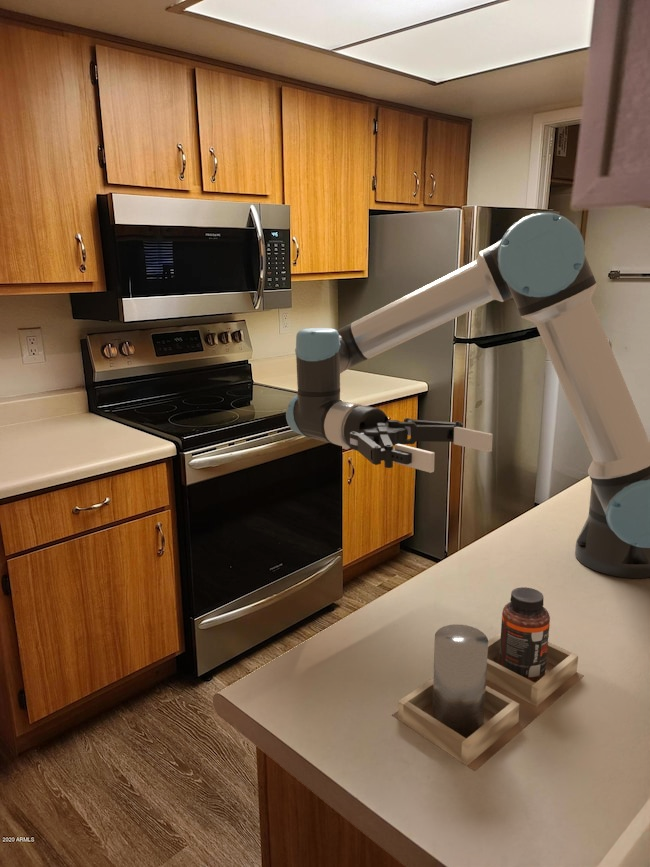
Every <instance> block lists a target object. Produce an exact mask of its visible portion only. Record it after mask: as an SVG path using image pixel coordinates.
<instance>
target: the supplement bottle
mask: <svg viewBox="0 0 650 867" xmlns="http://www.w3.org/2000/svg"><path fill="white" fill-rule="evenodd" d="M509 599H510V602H508V603H506V604H505V605H504V606H503V608H502V613H501V615H502V616H501V624H500V625H501V626H500V633H501V640H500V641H501V642H500V657H499V665H501V666H503V667H505V668H507V669H509V670H511V671H513V672H515V673H517V674H519V675H521V676H523V677H525V678H526V679H528V680H530V681H532V682H536V681H538V680H540V679H541V678H542V677H543V676H544V675H545V670H546V662H547V649H548V642H549V637H550V634H549V633H550V624H551V623H550V621H551V616H550V612H549V611H548V610H547V608H545V607H544V594H543V593H542V592H541V591H539V590H537V589H535V588H531V587H527V586H526V587H523V586H522V587H516V588H514V589H512V591H511V594H510V598H509Z"/></svg>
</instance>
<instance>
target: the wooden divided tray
mask: <svg viewBox="0 0 650 867" xmlns="http://www.w3.org/2000/svg"><path fill="white" fill-rule="evenodd" d="M500 640H501V632H499V633H498V634H496V635H495V636H493V637H491V638H490V639H488V656H487V674H486V693H485V711H484V725H483V726H482V727H480V728H479V729H478V730H477V731H475V732H474V733H473V734H472V735H470V736H469V737H468V738H465V737H463V736H461V735H460V734H458V733H457V732H455V731H454V730H452V729H450V728H449V727H447V726H446V725H444V724H443V723H441V722H439V721H438V720H436V719H435V718H433V717H432V710H433V677H432V678H431V679H429V680H427V681H426V682H425V683H423V684H422V685H420V686H419V687H417V688H416V689H414V690H413V691H412V692H410V693H408V694H406V695H405V696H404V697H402V698H401V699H400V700H398V702H397V703H398V704H397V705H398V707H397V711H395V712H394V713H392V715H391V716H392V717H394V718H395V719H396V720H399V721H400V722H401V723H403V724H404V725H406V726H407V727H409V728H410V729H412V730H413V731H415V733H417V734H419V735H420V736H422V737H423V738H425V739H426V740H428V741H429V742H430V743H432V744H434V745H436V747H437V748H440V749H441V750H442V751H444V752H445V753H447V754H448V755H450V756H452V758H455V759H456V760H458V761H459V763H462V764H464V765H465V766H466V767H468V768H469V769H470V770H472V771H473V772H476V771H477V770H478V769H480V767H482V766H483V765H484V764H486V762H488V760H489V759H491V758H492V757H493V756H494V755H495V754H496V753H498V752H499V751H500V750H501V749H502V748H503V747H505V746H506V745H507V744H508V743H510V741H511V740H512V739H514V738H515V737H516V736H517V735H518V734H519V733H521V732H522V731H523V730H524V729H525V728H526V727H527V726H529V725H530V724H531V723H533V721H534V720H535V719H537V718H538V717H539V716H540V715H541V714H543V712H544V711H546V710H547V709H548V708H549V707H550V706H551V705H553V703H555V702H556V701H557V700H558V699H559V698H561V696H563V695H564V694H565V693H566V692H567V691H569V690H570V689H571V688H572V687H573V686H574V685H575V684H577V683H578V682H579V681H580V680H581V679H582V678H583V677H584V676H585V675H584V674H581V673H580V672H577V671H578V664H579V663H578V662H579V655H578V654H576V653H574V652H571V651H569V650H567V649H566V648H564V647H560V646H558V645H556V644H554V643H551V642H550V641H548V649H547V662H546V670H545V675H544V676H543V677H542V678H541V679H540V680H538V681H536V682H532V681H530V680H528V679H526V678H525V677H523V676H521V675H519V674H517V673H515V672H513V671H511V670H509V669H507V668H505V667H503V666H501V665H499V657H500V642H501V641H500Z"/></svg>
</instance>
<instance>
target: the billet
mask: <svg viewBox="0 0 650 867" xmlns="http://www.w3.org/2000/svg"><path fill="white" fill-rule="evenodd" d="M488 641H489V639H488V637H487V635H486V634H485V633H484V632H483V631H481V630H480V629H478V628H476V627H473V626H470V625H467V624H457V623H456V624H448V625H445V626H442V627H440V628H439V629H437V630H436V631H435V634H434V643H433V644H434V648H433V651H434V652H433V677H432V678H433V710H432V717H433V718H435V719H436V720H438V721H439V722H441V723H443V724H444V725H446V726H447V727H449V728H450V729H452V730H454V731H455V732H457V733H458V734H460V735H461V736H463V737H465V738H468V737H469V736H470V735H472V734H473V733H474V732H475V731H477V730H478V729H479V728H480V727H482V726H483V725H484V711H485V693H486V674H487V656H488Z"/></svg>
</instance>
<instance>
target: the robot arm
mask: <svg viewBox="0 0 650 867" xmlns="http://www.w3.org/2000/svg"><path fill="white" fill-rule="evenodd" d="M581 233H582V232H580V229H579V228H578V226H576V225H575V223H573V221H571V220H570V219H568V218H567V217H565V216H564V215H560V214H558V213H555V212H549V211H540V212H534V213H531V214H529V215H526V216H523V217H522V218H521V219H518V221H515V222H514V223H512V224H511V226H509V227H508V229H507V230H506V231H505V233H504V235H503V236H502V238H501V239H500V240H498V241H497V242H496V243H494V244H492V245H490V246H488V247H487V248H484V249H483V250H482V249H481V250H480V251H479V253H478V255H477V258H476V259H475V260H474V261H471V262H470V263H468V264H466V265H463V266H462V267H459V268H458V269H455V270H454V271H452V272H449V273H448V274H446V275H444V276H442V277H441V278H438V279H436V280H434V281H432V282H430V283H428V284H425V285H424V286H422V287H420V288H419V289H416V290H414V291H412V292H410V293H407V294H406V295H404V296H402V297H401V298H398V299H396V300H394V301H392V302H390V303H388V304H387V305H385V306H382V307H381V308H379V309H376V310H375V311H373V312H371V313H369V314H367V315H365V316H362V317H361V318H358V319H357V320H355V321H353V322H351V323H349V324H347V325H345V326H343V327H341V328H339V329H335V328H330V327H313V328H311V327H310V328H304V329H303V328H302V329H300V330H298V332H297V333H296V336H295V337H296V338H295V339H296V340H295V341H296V342H295V349H294V352H295V358H296V359H295V360H296V379H297V380H296V383H297V384H296V386H297V393H296V394H297V395H295V396H293V397H292V398H291V399H290V400H289V403H288V407H287V409H286V411H285V419H286V422H287V425H288V427H289V428H290V430H292V431H293V432H294V433H296V434H299V435H302V436H304V437H306V438H308V439H312V440H317V441H321V442H326V443H330V444H332V445H336V446H340V447H343V449H344V450H349V449H351V450H354V451H357V452H358V453H360V454H361V456H363V457H364V458H366V460H368V461H369V462H370V463H372V464H373V465H374V466H378V465H382V461H383V462H384V468H385V469H391V468H394V464H396V465H401V466H405V467H409V468H412V469H415V470H419V471H423V472H426V473H430V474H431V473H434V472H435V457H436V456H435V454H436V453H435V452H434V451H429V450H425V449H422V448H417V447H413V446H410V445H415V444H416V443H417V442H433V443H434V442H438V443H440V442H443V443H453V445H456V446H460V447H463V448H464V447H465V448H469V449H474V450H476V451H477V450H478V451H482V452H486V453H491V452H493V436H494V435H493V433H490V432H487V431H486V432H485V431H481V430H476V429H472V428H466V427H464V423H463V422H461V421H460V420H455V421H440V420H439V421H437V420H422V419H414V418H410V417H405V418H403V421H399V420H398V419H389V417H388V416H387V414H386V413H385V412H384V411H383V410H382V409H380V408H377V407H372V406H367V405H362V404H359V403H356V402H355V403H354V402H348V401H345V400H341V374H342V373H343V372H345V371H347V370H349V369H351V368H353V367H355V366H357V365H359V364H361V363H364V362H365V361H367V360H370V359H371V358H373V357H375V356H378V355H380V354H382V353H384V352H386V351H389V350H390V349H393V348H395V347H397V346H398V345H401V344H403V343H406V342H407V341H409V340H412V339H414V338H416V337H418V336H420V335H422V334H424V333H426V332H428V331H431V330H433V329H435V328H438V327H439V326H441V325H443V324H446V323H448V322H449V321H452V320H454V319H456V318H459V317H460V316H462V315H465V314H467V313H469V312H471V311H473V310H475V309H477V308H479V307H482V306H484V305H486V304H488V303H490V302H492V301H498V302H501V303H503V302H505V301H507V300H510V299H512V298H513V300H514V303H515V305H516V307H517V310H518V312H519V315H520V317H521V319H523V320H527V321H529V322H532V323H533V324H535V326H536V329H537V331H538V333H539V335H540V337H541V340H542V342H543V345H544V347H545V349H546V352H547V354H548V357H549V359H550V361H551V364H552V365H553V369H554V371H555V373H556V375H557V378H558V380H559V382H560V385H561V387H562V390H563V391H564V392H563V393H564V394H565V397H566V399H567V402H568V404H569V406H570V409H571V412H572V414H573V416H574V418H575V420H576V423H577V425H578V427H579V430H580V432H581V434H582V436H583V438H584V441H585V443H586V444H585V445H586V446H587V448H588V451H589V454H590V455H591V457H592V461H591V463H590V465H589V467H588V469H587V474H588V476H589V479H590V481H591V485H590V498H589V508H588V516H587V519H586V521H585V522H584V525H583V526H582V528H581V531H580V533H579V534H578V536H577V539H576V543H575V550H574V555H575V557H576V559H577V560H578V562H580V563H581V564H582V565H584V566H586V567H587V568H589V569H591V570H594V571H596V572H599V573H602V574H605V575H607V576H613V577H619V578H626V579H627V578H628V579H646V578H650V439H649V437H648V434H647V432H646V429H645V428H644V425H643V422H642V420H641V417H640V415H639V413H638V410H637V408H636V404H635V402H634V401H633V399H632V396H631V393H630V391H629V388H628V386H627V382H626V380H625V378H624V377H623V374H622V371H621V369H620V367H619V364H618V361H617V359H616V356H615V354H614V352H613V349H612V347H611V345H610V342H609V340H608V337H607V335H606V332H605V330H604V327H603V326H602V325H603V324H602V323H601V320H600V317H599V316H598V313H597V311H596V308H595V306H594V303H593V301H592V298H593V294H594V293H595V291H596V288H597V285H598V284H597V281H596V279H595V276H594V274H593V271H592V268H591V266H590V264H589V262H588V259H587V256H586V247H585V240H584V238H583V235H582V234H581ZM408 436H410V438H409V437H408Z"/></svg>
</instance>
